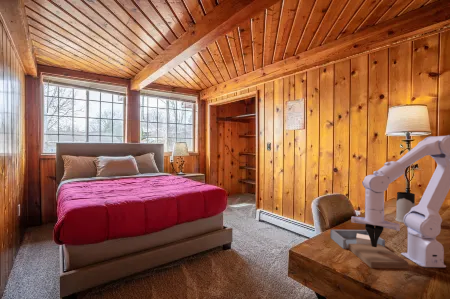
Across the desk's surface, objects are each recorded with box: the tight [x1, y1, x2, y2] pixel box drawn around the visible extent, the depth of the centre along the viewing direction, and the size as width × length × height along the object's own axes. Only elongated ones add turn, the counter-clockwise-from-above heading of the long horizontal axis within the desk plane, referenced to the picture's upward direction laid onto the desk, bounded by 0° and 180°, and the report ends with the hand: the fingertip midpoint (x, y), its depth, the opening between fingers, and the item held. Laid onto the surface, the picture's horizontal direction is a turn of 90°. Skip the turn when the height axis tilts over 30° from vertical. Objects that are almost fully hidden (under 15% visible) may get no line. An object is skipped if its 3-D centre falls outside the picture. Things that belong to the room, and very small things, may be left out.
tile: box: [356, 234, 371, 244], centre depth 94 cm, size 5×5×2 cm
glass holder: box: [394, 191, 416, 224], centre depth 125 cm, size 9×14×15 cm, turn 132°
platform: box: [348, 244, 409, 269], centre depth 82 cm, size 14×12×2 cm
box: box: [330, 229, 386, 250], centre depth 94 cm, size 11×16×4 cm
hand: (374, 246), depth 82 cm, fingers closed
